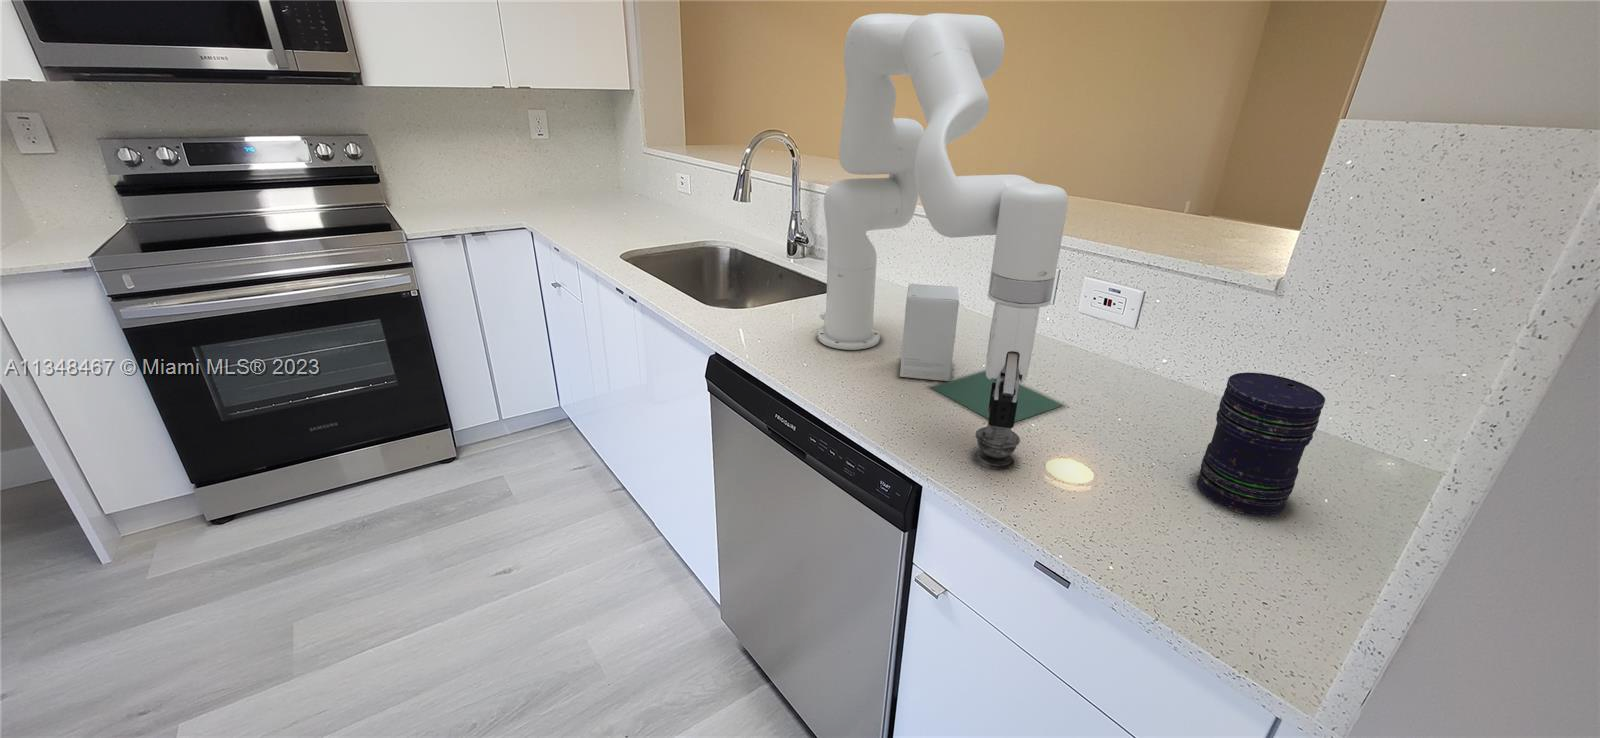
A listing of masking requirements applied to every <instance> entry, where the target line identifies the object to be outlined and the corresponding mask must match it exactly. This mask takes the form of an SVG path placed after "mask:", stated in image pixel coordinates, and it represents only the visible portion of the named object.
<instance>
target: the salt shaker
mask: <svg viewBox="0 0 1600 738" xmlns="http://www.w3.org/2000/svg"><path fill="white" fill-rule="evenodd" d="M1003 384H1004V383H1003ZM1000 387H1001V386H1000ZM994 394H995V389H994V392H993V397H994ZM988 413H989V414H990V408H988ZM975 438H976V441H977V446H978V448H979V449H978V450H977V451H976V452H975V454H974V459H975V461H976V462H977V463H978V464H979V465H981V466H983V467H984V468H988V469H992V470H1007V469H1009V468H1011V467H1013V466H1014V464H1015V460H1014V458H1013V456H1012V454H1013V453H1014V452H1015V451H1016V449H1017V446H1018V445H1019V444H1020V443H1021V439H1020V437H1019V436H1018V434H1017V433H1016V432H1015V431H1013V430H1012V428H1004V427H997V426H990V425H989V424H988V423H987V425H986V426H984V427H980V428H979V429H978V430H977V431H976V432H975Z"/></svg>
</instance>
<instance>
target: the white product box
mask: <svg viewBox="0 0 1600 738" xmlns="http://www.w3.org/2000/svg"><path fill="white" fill-rule="evenodd" d="M906 293H907V294H906V302H905V309H904V311H905V312H904V320H903V321H904V322H903V333H902V345H901V355H900V357H901V358H900V360H901V361H900V369H899V377H901V378H912V379H921V380H930V381H931V380H933V381H941V382H943V381H944V382H951V373H952V367H953V357H954V349H955V342H956V332H957V322H958V315H959V314H958V313H959V305H960V297H959V288H958V286H952V285H935V284H924V283H923V284H921V283H908V286H907V292H906Z"/></svg>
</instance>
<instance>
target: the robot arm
mask: <svg viewBox="0 0 1600 738" xmlns="http://www.w3.org/2000/svg"><path fill="white" fill-rule="evenodd" d="M1005 49H1006V44H1005V39H1004V33H1003V32H1002V29H1001V28H1000V25H999V24H998V23H997V22H996V20H994V19H993V18H992V17H989V16H987V15H981V14H965V13H950V12H949V13H948V12H935V13H934V12H933V13H928V14H925V15H918V14H917V15H916V14H909V13H908V14H905V13H885V12H883V13H870V14H865V15H862V16H860V17H858V18H856V19H855V20H854V21H853V22H852V23H851V25H850V26H849V28H848V30H847V32H846V36H845V39H844V46H843V68H844V74H845V75H844V76H845V83H846V91H845V93H846V94H845V101H844V107H843V115H842V121H841V122H842V123H841V131H840V138H839V149H838V159H839V164H840V167H841V168H842V169H843V170H844V171H845V172H847V173H849V174H852V175H859V176H864V175H866V176H871V175H872V176H873V175H874V176H875V175H888V177H859V178H846V179H841V180H838V181H836V182H833V183H832V184H830V186H828V188H827V189H826V191H825V193H824V196H823V212H824V218H825V219H824V220H825V225H826V239H827V259H826V263H827V266H826V267H827V268H826V302H825V304H826V305H825V306H826V307H825V308H826V309H825V312H823V311H822V312H820V314H819V318H820V319H821V320H823V321H824V323H823V327H822V328H820V329H819V330H818V332H817V339H818V341H819V342H820V343H821V344H822V345H824V346H827V347H829V348H833V349H836V350H837V349H838V350H845V351H846V350H847V351H856V350H857V351H858V350H864V349H870V348H873V347H874V346H876V345H878V344H879V343H880V339H881V335H880V332H879V331H877V329H875V328H874V313H875V312H874V311H875V310H874V309H875V296H876V279H877V278H876V277H877V252H876V248H875V246H874V245H873V242H871V240H870V239H869V237H868V236H867V232H868V231H869V232H870V231H876V230H877V231H878V230H890V229H891V230H892V229H899V228H904V227H905V226H907V225H908V224H909V223H910V222H911V220H912V219H913V217H914V215H915V212H916V208H917V204H918V199H919V200H920V202H921V205H922V208H923V211H924V213H925V216H926V218H927V220H928V222H929V224H930V226H931V227H932V229H933V230H934V231H935V232H936V233H938V234H939V235H941V236H943V237H946V238H954V239H955V238H969V237H970V238H971V237H981V236H995V239H994V245H993V247H994V248H993V255H992V263H991V269H990V277H989V284H988V291H987V292H988V293H987V297H988V299H989V300H990V301H992V302H994V305H993V306H994V307H993V312H992V317H991V325H990V331H989V339H988V346H987V352H986V361H985V372H986V376H987V378H988V379H990V380H991V378H994V382H996V383H994V382H992V388H991V395H990V402H989V408H990V414H989V420H988V422H987V425H988V424H989V425H990V426H997V427H1004V428H1011V429H1013V428H1014V426H1015V423H1014V421H1015V415H1016V409H1017V403H1018V400H1017V394H1018V387H1019V385H1020V384H1022V383H1024V382H1025V381H1027V378H1028V373H1029V369H1030V364H1031V360H1032V354H1033V350H1034V343H1035V338H1036V332H1037V327H1038V322H1039V316H1040V315H1039V313H1040V308H1044V307H1047V306H1049V305H1050V304H1051V303H1052V297H1053V291H1054V287H1055V286H1054V285H1055V279H1056V273H1057V268H1058V262H1059V258H1060V257H1059V256H1060V251H1061V246H1062V239H1063V233H1064V229H1065V224H1066V217H1067V212H1068V205H1069V197H1068V194H1067V191H1066V190H1065V189H1064V188H1062V187H1060V186H1058V185H1053V184H1047V183H1038V182H1035V181H1034V180H1032V179H1031V178H1028V177H1026V176H1023V175H1020V174H1012V173H1011V174H1008V173H1006V174H976V175H974V174H973V175H958V176H957V175H956V173H955V171H954V168H953V165H952V162H951V160H950V158H949V154H948V150H947V145H949V144H951V143H952V142H954V141H956V140H959V139H960V138H963V137H964V136H966V135H968V134H969V133H971V132H972V131H973V130H974V129H976V128H977V127H978V126H979V125H981V123H982V122H983V121H984V120H985V118H986V116H987V115H988V112H989V110H990V98H989V95H988V92H987V90H986V87H985V85H984V82H983V81H985V80H988V79H990V78H991V77H993V76H994V75H995V74H996V73H997V72H998V71H999V69H1000V67H1001V65H1002V63H1003V60H1004V57H1005ZM891 76H905V77H908V76H909V77H910V80H911V82H912V85H913V88H914V91H915V93H916V97H917V100H918V102H919V105H920V108H921V110H922V114H923V116H924V119H925V121H926V125H927V126H926V127H925V129H924V127H923V125H922V124H921V123H920V122H918V121H917V120H916V119H913V118H909V117H894V112H895V108H896V103H897V90H896V86H895V83H894V81H893V79H892V77H891ZM1003 383H1004V384H1003ZM1000 386H1001V387H1000ZM994 389H995V394H994V397H993V392H994Z"/></svg>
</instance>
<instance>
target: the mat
mask: <svg viewBox="0 0 1600 738" xmlns="http://www.w3.org/2000/svg"><path fill="white" fill-rule="evenodd" d="M992 382H994V378H991V380H990V379H988V378H987V376H986V371H983V372H979V373H975V374H972V375H968V376H965V377H962V378H958V379H955V380H950V381H946V382H944V383H941V384H937V385H933V386H931V387H930V388H931V389H932V390H934V391H936V392H937V393H939V394H941V395H942V396H943V395H944V396H945V397H947V398H949V399H950V400H952V401H954V402H956V403H958V404H959V405H961V406H963V407H964V408H967V409H968V410H970V411H972V412H974V413H976V414H978V415H979V416H981V417H983V418H984V419H986V420H988V421H989V413H988V408H989V402H990V395H991V388H992ZM994 383H996V382H994ZM1017 400H1018V403H1017V409H1016V415H1015V421H1014V424H1015V423H1017V422H1021V421H1023V420H1026V419H1029V418H1032V417H1034V416H1035V417H1036V416H1037V415H1041V414H1043V413H1046V412H1050V411H1052V410H1054V409H1057V408H1060V407H1063V404H1061V403H1059V402H1057V401H1054V400H1053V399H1051V398H1049V397H1046V396H1044V395H1042V394H1040V393H1038V392H1036V391H1033V390H1032V389H1030V388H1027V387H1025V386H1023V385H1021V384H1019V387H1018V394H1017Z"/></svg>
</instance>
